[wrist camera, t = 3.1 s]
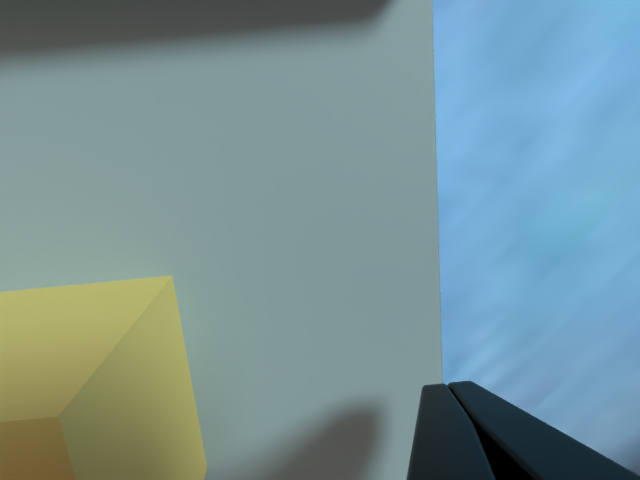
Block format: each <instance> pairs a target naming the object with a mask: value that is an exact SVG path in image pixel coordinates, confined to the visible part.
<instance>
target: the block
mask: <svg viewBox="0 0 640 480" xmlns="http://www.w3.org/2000/svg"><path fill="white" fill-rule="evenodd" d="M206 470H207V464H206V459H205V453H204V448H203V442H202V437H201V431H200V426H199V420H198V415H197V409H196V404H195V398H194V393H193V387H192V382H191V376H190V371H189V365H188V359H187V354H186V348H185V343H184V337H183V332H182V326H181V321H180V315H179V310H178V304H177V299H176V293H175V288H174V282H173V277H172V276H163V277H152V278H142V279H131V280H121V281H110V282H100V283H89V284H79V285H68V286H58V287H47V288H37V289H26V290H16V291H5V292H0V480H204V478H205V474H206Z"/></svg>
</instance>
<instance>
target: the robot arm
mask: <svg viewBox="0 0 640 480" xmlns="http://www.w3.org/2000/svg"><path fill="white" fill-rule="evenodd" d="M406 480H640V476H639V475H637V474H636V473H634V472H632V471H630V470H628V469H627V468H625V467H623V466H621V465H620V464H618V463H616V462H614V461H612V460H611V459H609V458H607V457H605V456H603V455H602V454H600V453H598V452H596V451H595V450H593V449H591V448H589V447H587V446H586V445H584V444H582V443H580V442H579V441H577V440H575V439H573V438H571V437H570V436H568V435H566V434H564V433H563V432H561V431H559V430H557V429H555V428H554V427H552V426H550V425H548V424H547V423H545V422H543V421H541V420H539V419H538V418H536V417H534V416H532V415H531V414H529V413H527V412H525V411H523V410H522V409H520V408H518V407H516V406H515V405H513V404H511V403H509V402H507V401H506V400H504V399H502V398H500V397H499V396H497V395H495V394H493V393H491V392H490V391H488V390H486V389H484V388H483V387H481V386H479V385H477V384H475V383H474V382H471V381H461V382H451V383H449V384H448V385H446V384H443V383H441V384H430V385H424V386H423V387H422V391H421V396H420V402H419V408H418V414H417V420H416V426H415V432H414V438H413V443H412V449H411V455H410V461H409V467H408V473H407V479H406Z"/></svg>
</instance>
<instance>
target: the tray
mask: <svg viewBox="0 0 640 480" xmlns="http://www.w3.org/2000/svg"><path fill="white" fill-rule="evenodd" d="M163 276H172V277H173V282H174V288H175V293H176V299H177V304H178V310H179V315H180V321H181V326H182V332H183V337H184V343H185V348H186V354H187V359H188V365H189V371H190V376H191V382H192V387H193V393H194V398H195V404H196V409H197V415H198V420H199V426H200V431H201V437H202V442H203V448H204V453H205V459H206V464H207V470H206V474H205V478H204V480H406V479H407V473H408V467H409V461H410V455H411V449H412V443H413V438H414V432H415V426H416V420H417V414H418V408H419V402H420V396H421V391H422V387H423V386H424V385H430V384H441V383H443V378H442V341H441V305H440V269H439V232H438V196H437V159H436V123H435V86H434V50H433V13H432V0H0V292H5V291H16V290H26V289H37V288H47V287H58V286H68V285H79V284H89V283H100V282H110V281H121V280H131V279H142V278H152V277H163Z"/></svg>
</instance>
